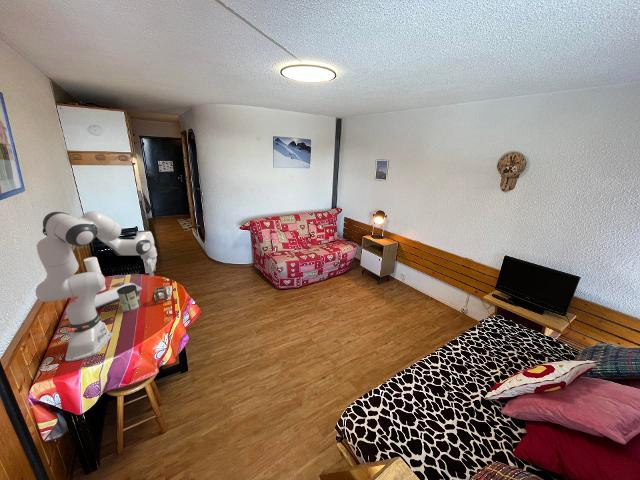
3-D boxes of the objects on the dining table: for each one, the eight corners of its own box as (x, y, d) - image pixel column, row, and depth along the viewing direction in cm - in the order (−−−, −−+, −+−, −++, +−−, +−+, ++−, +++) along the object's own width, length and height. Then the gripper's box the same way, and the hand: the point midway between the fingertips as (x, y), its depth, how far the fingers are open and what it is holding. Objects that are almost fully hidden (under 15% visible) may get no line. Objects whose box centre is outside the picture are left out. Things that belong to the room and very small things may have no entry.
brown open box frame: (167, 302, 177) (164, 290, 173) (157, 304, 174) (154, 291, 171) (168, 298, 182) (165, 286, 178) (158, 300, 179) (155, 287, 176)
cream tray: (171, 297, 184) (170, 293, 182) (155, 300, 179) (154, 296, 178) (172, 289, 194) (171, 285, 193) (156, 292, 190) (156, 288, 189)
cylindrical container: (99, 292, 189) (89, 261, 181) (91, 291, 191) (81, 260, 183) (108, 287, 196) (99, 257, 188) (100, 286, 197) (91, 256, 189)
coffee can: (130, 302, 177) (125, 284, 172) (144, 303, 176) (140, 285, 171) (118, 311, 167) (112, 292, 163) (133, 312, 166) (127, 293, 162)
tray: (143, 291, 191) (142, 287, 190) (91, 313, 166) (89, 308, 165) (132, 286, 199) (131, 281, 198) (80, 305, 174) (79, 301, 173)
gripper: (152, 259, 160) (156, 279, 164) (156, 248, 178) (160, 267, 182) (140, 260, 158) (145, 281, 162) (145, 250, 175) (149, 268, 180)
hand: (153, 273), depth 172 cm, fingers open, 8 cm apart
